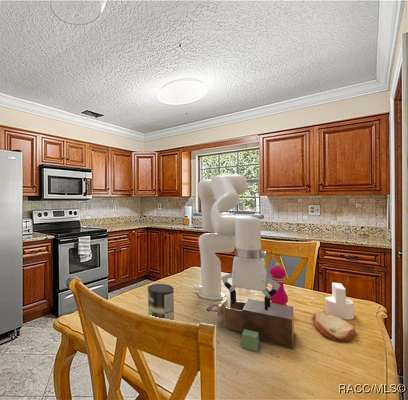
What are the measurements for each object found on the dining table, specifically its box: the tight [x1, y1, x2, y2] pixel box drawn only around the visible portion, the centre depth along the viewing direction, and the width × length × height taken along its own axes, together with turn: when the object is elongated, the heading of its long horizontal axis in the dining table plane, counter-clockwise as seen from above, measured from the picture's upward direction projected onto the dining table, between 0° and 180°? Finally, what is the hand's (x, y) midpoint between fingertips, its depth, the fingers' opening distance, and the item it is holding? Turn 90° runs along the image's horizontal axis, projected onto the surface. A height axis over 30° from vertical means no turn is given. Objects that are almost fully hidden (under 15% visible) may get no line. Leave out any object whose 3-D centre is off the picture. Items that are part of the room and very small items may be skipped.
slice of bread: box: [313, 310, 357, 343], centre depth 101 cm, size 18×18×4 cm
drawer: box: [205, 297, 247, 332], centre depth 104 cm, size 18×11×8 cm, turn 54°
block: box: [241, 329, 260, 352], centre depth 90 cm, size 4×4×4 cm
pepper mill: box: [269, 262, 289, 306], centre depth 121 cm, size 7×7×20 cm
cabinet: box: [242, 298, 295, 350], centre depth 97 cm, size 15×13×10 cm
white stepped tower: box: [324, 282, 355, 320], centre depth 113 cm, size 9×9×12 cm
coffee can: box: [147, 283, 175, 321], centre depth 109 cm, size 10×10×14 cm
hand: (249, 305), depth 90 cm, fingers open, 9 cm apart
